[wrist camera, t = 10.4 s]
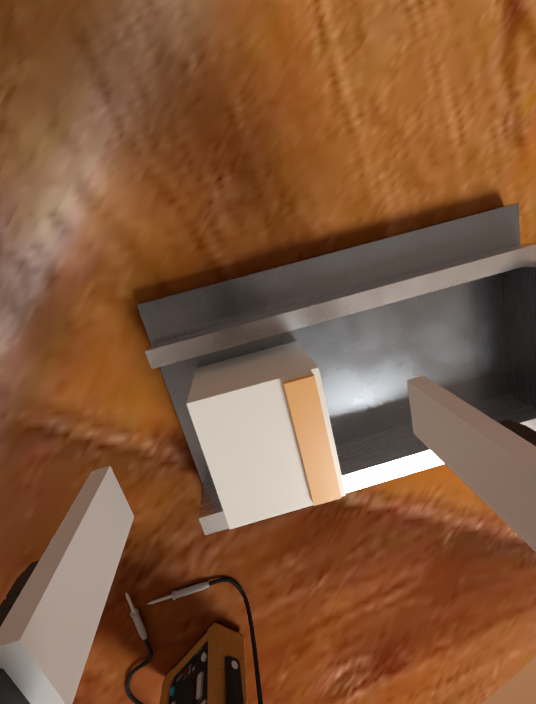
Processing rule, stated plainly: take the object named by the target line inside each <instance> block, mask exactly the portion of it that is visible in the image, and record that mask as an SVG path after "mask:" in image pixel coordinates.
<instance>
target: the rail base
mask: <svg viewBox="0 0 536 704" xmlns="http://www.w3.org/2000/svg"><path fill="white" fill-rule="evenodd" d="M137 308H138V310H139V313H140V316H141V318H142V321H143V324H144V327H145V329H146V332H147V335H148V337H149V340H150V343H151V345H150V346H149V347H148V348H147V350H146V351H145V353H146V356H147V359H148V361H149V364H150V367H151V369H154V368H158V367H160V370H161V373H162V375H163V378H164V381H165V384H166V386H167V389H168V392H169V394H170V397H171V400H172V403H173V405H174V408H175V411H176V413H177V416H178V419H179V422H180V424H181V427H182V430H183V432H184V435H185V438H186V441H187V443H188V446H189V449H190V451H191V454H192V457H193V460H194V462H195V465H196V468H197V470H198V473H199V476H200V479H201V481H202V492H201V501H200V510H199V521H200V523H201V526H202V528H203V531H204V534H205V535H208V534H211V533H214V532H218V531H221V530H224V529H228V528H229V525H228V523H227V520H226V517H225V514H224V511H223V508H222V505H221V502H220V500H219V497H218V494H217V491H216V488H215V485H214V482H213V479H212V477H211V474H210V471H209V468H208V465H207V462H206V459H205V456H204V453H203V451H202V448H201V445H200V442H199V439H198V436H197V433H196V430H195V428H194V425H193V422H192V419H191V416H190V413H189V410H188V407H187V405H186V403H187V399H188V396H189V392H190V389H191V385H192V382H193V378H194V374H195V371H196V368H198V367H202V366H206V365H209V364H213V363H217V362H221V361H224V360H228V359H232V358H235V357H239V356H243V355H246V354H250V353H254V352H258V351H261V350H265V349H269V348H272V347H276V346H280V345H283V344H287V343H291V342H295V341H297V342H298V343H299V345H300V346H301V347H302V348H303V349H304V351H305V352H306V353H307V354H308V355H309V356H310V358H311V359H312V360H313V361H314V362H315V364H316V365H317V366H318V367H319V371H320V376H321V381H322V385H323V390H324V395H325V399H326V404H327V409H328V413H329V418H330V423H331V427H332V432H333V437H334V441H335V446H336V451H337V456H338V460H339V465H340V470H341V474H342V479H343V484H344V488H345V493H348V492H351V491H355V490H358V489H361V488H365V487H368V486H371V485H375V484H378V483H381V482H385V481H388V480H391V479H395V478H398V477H401V476H405V475H408V474H411V473H415V472H418V471H421V470H425V469H428V468H432V467H435V466H438V465H442V464H444V463H443V462H442V461H441V460H440V459H439V458H438V457H437V456H436V455H435V454H434V453H433V452H432V451H431V450H430V449H429V448H428V447H427V446H426V445H425V444H424V443H423V442H422V441H421V440H420V439H419V438H418V437H417V436H416V435H415V434H414V433H413V425H412V417H411V409H410V401H409V393H408V385H407V380H409V379H412V378H416V377H419V376H423V375H424V376H425V377H427V378H428V379H430V380H432V381H433V382H435V383H436V384H438V385H439V386H441V387H443V388H444V389H446V390H447V391H449V392H451V393H452V394H454V395H455V396H457V397H458V398H460V399H462V400H463V401H465V402H466V403H468V404H469V405H471V406H473V407H474V408H476V409H477V410H479V411H481V412H482V413H484V414H485V415H487V416H488V417H490V418H492V419H493V420H495V421H496V422H501V421H504V420H510V421H514V422H517V423H520V424H523V425H526V426H528V427H529V428H531V429H533V430H534V431H536V243H524V244H520V231H519V203H517V204H511V205H506V206H502V207H498V208H494V209H491V210H487V211H483V212H479V213H476V214H472V215H468V216H464V217H461V218H457V219H453V220H449V221H446V222H442V223H438V224H434V225H431V226H427V227H423V228H419V229H416V230H412V231H408V232H405V233H401V234H397V235H393V236H390V237H386V238H382V239H378V240H375V241H371V242H367V243H363V244H360V245H356V246H352V247H348V248H345V249H341V250H337V251H333V252H330V253H326V254H322V255H318V256H315V257H311V258H307V259H303V260H300V261H296V262H292V263H289V264H285V265H281V266H277V267H274V268H270V269H266V270H262V271H259V272H255V273H251V274H247V275H244V276H240V277H236V278H232V279H229V280H225V281H221V282H217V283H214V284H210V285H206V286H202V287H199V288H195V289H191V290H187V291H184V292H180V293H176V294H173V295H169V296H165V297H161V298H158V299H154V300H150V301H146V302H143V303H140V304H138V305H137Z"/></svg>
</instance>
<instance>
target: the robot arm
mask: <svg viewBox="0 0 536 704" xmlns="http://www.w3.org/2000/svg"><path fill="white" fill-rule="evenodd" d="M407 385H408V393H409V401H410V409H411V417H412V425H413V433H414V434H415V435H416V436H417V437H418V438H419V439H420V440H421V441H422V442H423V443H424V444H425V445H426V446H427V447H428V448H429V449H430V450H431V451H432V452H433V453H434V454H435V455H436V456H437V457H438V458H439V459H440V460H441V461H442V462H443V463H444V464H446V465H447V466H448V467H449V468H450V469H451V470H452V471H453V472H454V473H455V474H456V475H457V476H458V477H459V478H460V479H461V480H462V481H463V482H464V483H465V484H466V485H467V486H468V487H469V488H470V489H471V490H472V491H473V492H474V493H475V494H476V495H477V496H478V497H480V498H481V499H482V500H483V501H484V502H485V503H486V504H487V505H488V506H489V507H490V508H491V509H492V510H493V511H494V512H495V513H496V514H497V515H498V516H499V517H500V518H501V519H502V520H503V521H504V522H505V523H506V524H507V525H508V526H509V527H510V528H511V529H512V530H514V531H515V532H516V533H517V534H518V535H519V536H520V537H521V538H522V539H523V540H524V541H525V542H526V543H527V544H528V545H529V546H530V547H531V548H532V549H533V550H534V551H535V552H536V431H534V430H533V429H531V428H529V427H528V426H526V425H523V424H520V423H517V422H514V421H510V420H504V421H501V422H496V421H495V420H493V419H492V418H490V417H488V416H487V415H485V414H484V413H482V412H481V411H479V410H477V409H476V408H474V407H473V406H471V405H469V404H468V403H466V402H465V401H463V400H462V399H460V398H458V397H457V396H455V395H454V394H452V393H451V392H449V391H447V390H446V389H444V388H443V387H441V386H439V385H438V384H436V383H435V382H433V381H432V380H430V379H428V378H427V377H425V376H424V375H423V376H419V377H416V378H412V379H409V380H407ZM133 519H134V515H133V513H132V511H131V509H130V507H129V505H128V502H127V500H126V498H125V496H124V494H123V492H122V490H121V488H120V486H119V484H118V481H117V479H116V477H115V475H114V473H113V471H112V469H111V467H110V466H108V467H104V468H101V469H97V470H94V471H92V472H91V474H90V475H89V477H88V479H87V480H86V482H85V484H84V486H83V487H82V489H81V491H80V492H79V494H78V496H77V497H76V499H75V501H74V503H73V504H72V506H71V508H70V509H69V511H68V513H67V514H66V516H65V518H64V520H63V521H62V523H61V525H60V526H59V528H58V530H57V531H56V533H55V535H54V537H53V538H52V540H51V542H50V543H49V545H48V547H47V549H46V550H45V552H44V554H43V555H42V557H41V559H40V560H39V561H36V562H33V563H31V564H30V565H29V567H28V568H27V569H26V570H25V571H24V572H23V573H22V574H21V575H20V576H19V577H18V578H17V579H16V581H15V583H14V584H13V586H12V588H11V589H10V591H9V592H8V594H7V596H6V599H4V600H3V602H2V604H1V605H0V704H72V703H73V700H74V697H75V694H76V691H77V688H78V685H79V682H80V679H81V676H82V673H83V670H84V667H85V664H86V661H87V658H88V655H89V652H90V649H91V646H92V643H93V640H94V637H95V634H96V631H97V628H98V625H99V622H100V619H101V616H102V613H103V609H104V606H105V603H106V600H107V597H108V594H109V591H110V588H111V585H112V582H113V579H114V576H115V573H116V570H117V567H118V564H119V561H120V558H121V555H122V552H123V549H124V546H125V543H126V540H127V537H128V534H129V531H130V528H131V525H132V522H133Z"/></svg>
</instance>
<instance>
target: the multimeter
mask: <svg viewBox="0 0 536 704" xmlns="http://www.w3.org/2000/svg"><path fill="white" fill-rule="evenodd" d="M220 582H230V583H232V584H233V585H234V586H235V587H236V588H237V589H238V590H239V592H240V593H241V594H242V596H243V598H244V602H245V605H246V610H247V614H248V620H249V626H250V634H251V641H252V649H253V658H254V667H255V677H256V686H257V696H258V704H263V701H262V691H261V683H260V674H259V666H258V657H257V649H256V642H255V635H254V628H253V622H252V616H251V611H250V607H249V602H248V599H247V596H246V594H245V592H244V591H243V589H242V588H241V587H240V585H239V584H238V583H237V582H236V581H234V580H233V579H231V578H220V579H216V580H213V581H210V582H209V581H207V582H202V583H199V584H195V585H192V586H189V587H186V588H183V589H180V590H177V591H172V595H169V596H165V597H162V598H159V599H156V600H153V601H151V602H149V603H148V604H154V603H157V602H160V601H163V600H166V599H169V598H172V599H173V601H174V600H176V599H177V598H180V597H183V596H186V595H189V594H192V593H195V592H198V591H201V590H204V589H206V588H208V587H209V586H210V585H213V584H216V583H220ZM126 598H127V600H128V603H129V605H130V608H131V612H130V616H131V617H132V619H133V621H134V624H135V626H136V628H137V631H138V633H139V636H140V637H141V638H142V640H144V642H145V644H146V647H147V649H148V652H149V658H148V659H147V660H146V661H144V662H143V663H141V664H140V665H138V666H137V667H135V668H134V669H133V670H132V671H131V672H130V674H129V676H128V678H127V683H126V693H127V696H128V697H129V698H130V700H131V701H132V702H133V703H135V704H142V703H140V702H139V701H138V700H136V699H135V698H134V697H133V696H132V694H131V692H130V690H129V683H130V679H131V677H132V675H133V674H134V673H135V672H136V671H137V670H139V669H140V668H142V667H143V666H145V665H146V664H148V663H149V662H150V661H151V659H152V657H153V651H152V648H151V646H150V643H149V641H148V639H147V634H146V630H145V627H144V625H143V622H142V620H141V617H140V615H139V613H138V612H139V610H138V608H134V607H133V604H132V602H131V599H130V597H129V595H128V594H127V592H126ZM146 605H147V604H146ZM244 642H245V640H244V636H243V635H242V634H240V633H238V632H236V631H233V630H231V629H229V628H227V627H225V626H223V625H221V624H218V623H214V624H213V625H212V626H210V627H209V628H208V631H207V632H206V634H205V635H204V636H203V637H202V638H201V639H200V640H199V641H198V642H197V643H196V645H195V646H194V647H193V648H192V649H191V650H190V651H189V652H188V653H187V654H186V656H185V657H184V658H183V659H182V660H181V661H180V662H179V663H178V664H177V665H176V667H175V668H174V667H173V668H172V669H171V670H170V671H169V673H168V674H167V675H166V677H165V679H164V681H163V684H162V691H161V698H160V704H247V703H248V701H247V683H246V664H245V645H244Z"/></svg>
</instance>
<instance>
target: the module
mask: <svg viewBox="0 0 536 704" xmlns="http://www.w3.org/2000/svg"><path fill="white" fill-rule="evenodd" d="M186 405H187V407H188V410H189V413H190V416H191V419H192V422H193V425H194V428H195V430H196V433H197V436H198V439H199V442H200V445H201V448H202V451H203V453H204V456H205V459H206V462H207V465H208V468H209V471H210V474H211V477H212V479H213V482H214V485H215V488H216V491H217V494H218V497H219V500H220V502H221V505H222V508H223V511H224V514H225V517H226V520H227V523H228V525H229V528H230V529H233V528H236V527H240V526H243V525H247V524H250V523H254V522H257V521H260V520H264V519H267V518H271V517H274V516H277V515H281V514H284V513H288V512H291V511H294V510H298V509H301V508H305V507H308V506H312V505H314V506H316V505H319V504H322V503H326V502H329V501H333V500H336V499H340V498H341V497H342V496H346V493H345V488H344V484H343V479H342V474H341V470H340V465H339V460H338V456H337V451H336V446H335V441H334V437H333V432H332V427H331V423H330V418H329V413H328V409H327V404H326V399H325V395H324V390H323V385H322V381H321V376H320V371H319V367H318V366H317V365H316V364H315V362H314V361H313V360H312V359H311V358H310V356H309V355H308V354H307V353H306V352H305V351H304V349H303V348H302V347H301V346H300V345H299V343H298V342H297V341H295V342H291V343H287V344H283V345H280V346H276V347H272V348H269V349H265V350H261V351H258V352H254V353H250V354H246V355H243V356H239V357H235V358H232V359H228V360H224V361H221V362H217V363H213V364H209V365H206V366H202V367H198V368H196V371H195V374H194V378H193V382H192V385H191V389H190V392H189V396H188V399H187V403H186Z"/></svg>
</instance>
